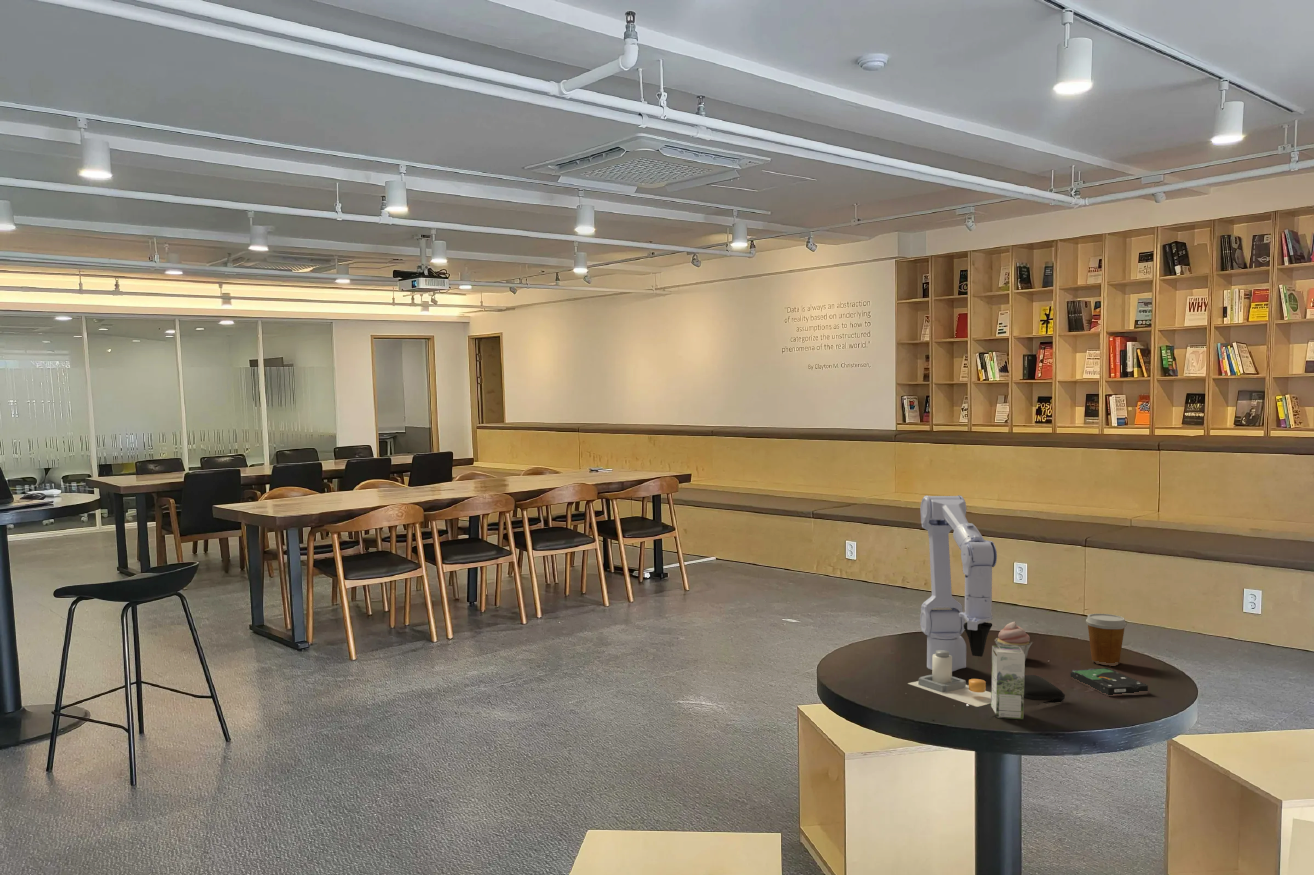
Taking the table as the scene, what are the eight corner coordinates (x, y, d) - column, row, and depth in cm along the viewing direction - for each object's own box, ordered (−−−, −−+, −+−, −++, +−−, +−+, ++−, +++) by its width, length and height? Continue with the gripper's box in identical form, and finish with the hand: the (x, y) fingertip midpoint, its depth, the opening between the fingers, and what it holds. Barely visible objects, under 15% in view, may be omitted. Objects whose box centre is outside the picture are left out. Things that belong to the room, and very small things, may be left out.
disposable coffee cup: (1089, 656, 245) (1089, 611, 244) (1128, 662, 239) (1129, 616, 239) (1081, 664, 237) (1082, 618, 236) (1122, 670, 231) (1123, 623, 231)
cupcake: (1034, 665, 236) (1034, 626, 236) (995, 662, 239) (996, 624, 238) (1030, 656, 245) (1030, 618, 245) (993, 653, 248) (993, 616, 247)
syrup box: (1018, 711, 200) (1019, 645, 199) (1024, 720, 194) (1025, 652, 194) (990, 709, 201) (991, 643, 200) (995, 718, 195) (996, 650, 195)
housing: (939, 680, 223) (939, 670, 223) (1009, 702, 206) (1010, 691, 206) (907, 687, 217) (907, 677, 217) (977, 711, 200) (977, 699, 200)
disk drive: (1149, 697, 212) (1107, 678, 226) (1149, 685, 212) (1107, 666, 226) (1108, 699, 210) (1068, 680, 225) (1109, 687, 210) (1069, 668, 224)
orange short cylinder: (975, 686, 209) (976, 677, 209) (989, 690, 206) (989, 681, 206) (965, 689, 207) (965, 680, 207) (978, 693, 204) (978, 684, 204)
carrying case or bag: (994, 686, 220) (1021, 705, 205) (994, 673, 219) (1021, 692, 205) (1038, 685, 220) (1068, 705, 205) (1038, 672, 220) (1068, 691, 205)
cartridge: (941, 681, 218) (941, 648, 218) (955, 686, 214) (956, 652, 214) (928, 684, 216) (928, 650, 216) (942, 689, 212) (943, 655, 212)
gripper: (965, 588, 214) (965, 645, 215) (953, 599, 201) (952, 660, 202) (997, 590, 211) (996, 649, 211) (987, 602, 198) (986, 665, 198)
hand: (977, 655), depth 206 cm, fingers closed
